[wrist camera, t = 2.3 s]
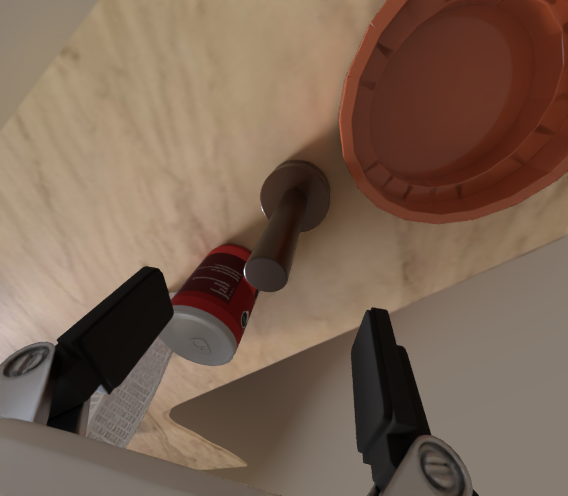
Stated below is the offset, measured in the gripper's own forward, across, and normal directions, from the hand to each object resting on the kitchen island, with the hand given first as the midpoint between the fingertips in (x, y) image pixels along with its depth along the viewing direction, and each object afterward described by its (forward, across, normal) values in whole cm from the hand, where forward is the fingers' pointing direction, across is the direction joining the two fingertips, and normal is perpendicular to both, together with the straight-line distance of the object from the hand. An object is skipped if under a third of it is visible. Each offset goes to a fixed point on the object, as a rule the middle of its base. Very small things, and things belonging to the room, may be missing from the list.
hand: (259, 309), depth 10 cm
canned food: (+15, +7, +10) cm, 20 cm away
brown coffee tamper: (+15, 0, 0) cm, 15 cm away
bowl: (+15, -10, -8) cm, 20 cm away
